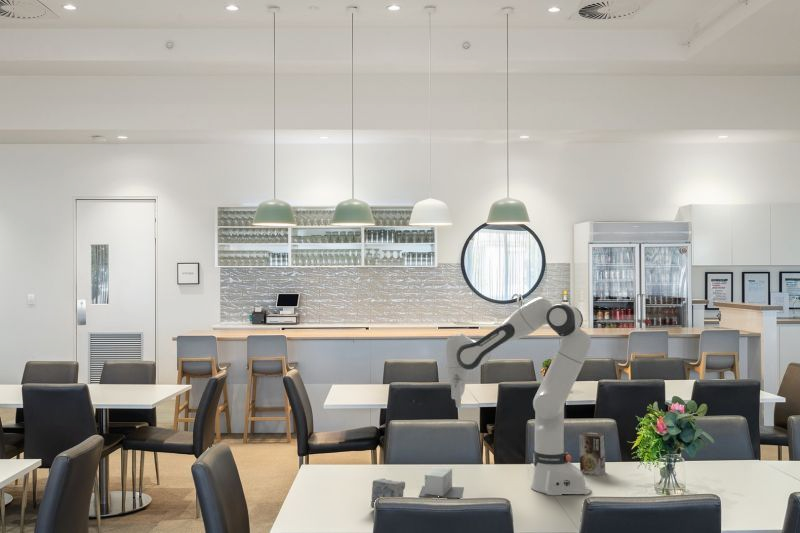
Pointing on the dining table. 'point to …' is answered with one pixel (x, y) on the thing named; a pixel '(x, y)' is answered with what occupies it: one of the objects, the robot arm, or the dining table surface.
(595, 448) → the coffee box
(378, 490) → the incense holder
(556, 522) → the dining table surface
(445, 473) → the supplement box
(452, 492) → the mat
